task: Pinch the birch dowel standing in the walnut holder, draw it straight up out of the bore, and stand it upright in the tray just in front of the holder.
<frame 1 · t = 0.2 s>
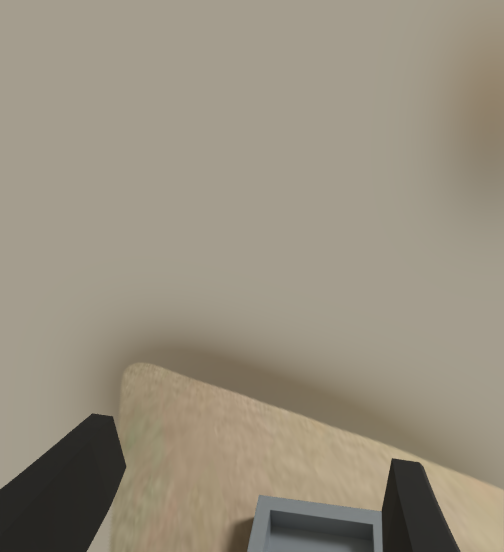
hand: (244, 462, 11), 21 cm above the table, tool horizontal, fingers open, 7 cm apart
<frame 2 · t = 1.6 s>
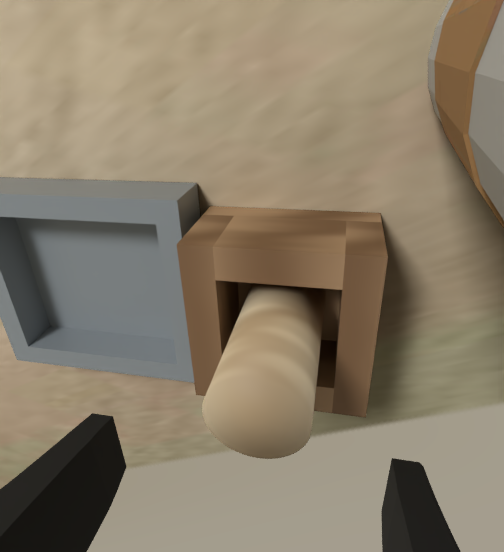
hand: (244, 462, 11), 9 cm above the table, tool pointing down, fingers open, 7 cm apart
holder: (290, 283, 19), on the table
dowel: (287, 294, 18), point 1 cm above the table, touching holder
tray: (109, 269, 20), on the table
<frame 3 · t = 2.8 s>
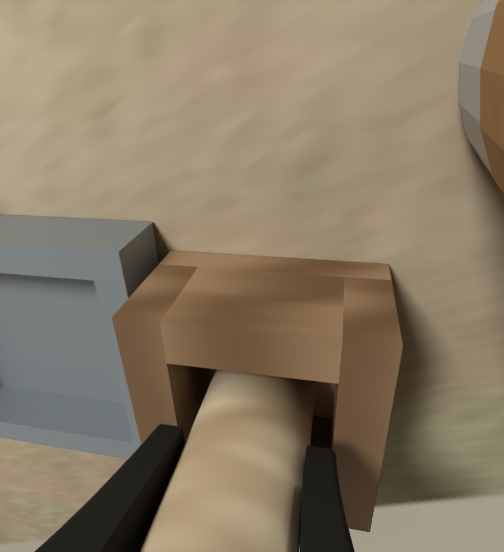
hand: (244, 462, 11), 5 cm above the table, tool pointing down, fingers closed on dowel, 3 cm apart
holder: (274, 344, 15), on the table
dowel: (270, 363, 14), point 1 cm above the table, touching gripper, holder
tray: (52, 321, 17), on the table
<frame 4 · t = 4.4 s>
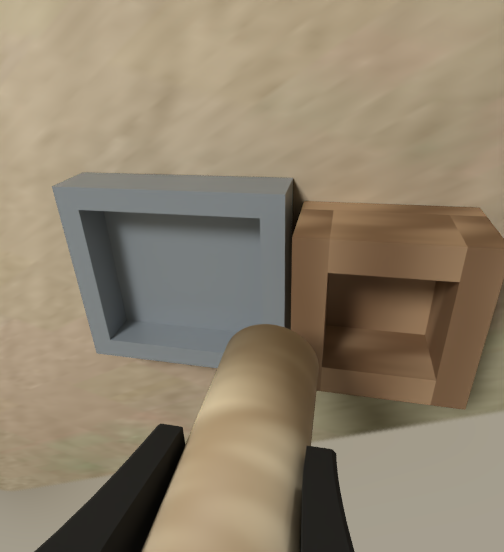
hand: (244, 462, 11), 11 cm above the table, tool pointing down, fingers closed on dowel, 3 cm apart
holder: (378, 277, 19), on the table
dowel: (270, 363, 14), point 7 cm above the table, touching gripper
tray: (192, 264, 21), on the table
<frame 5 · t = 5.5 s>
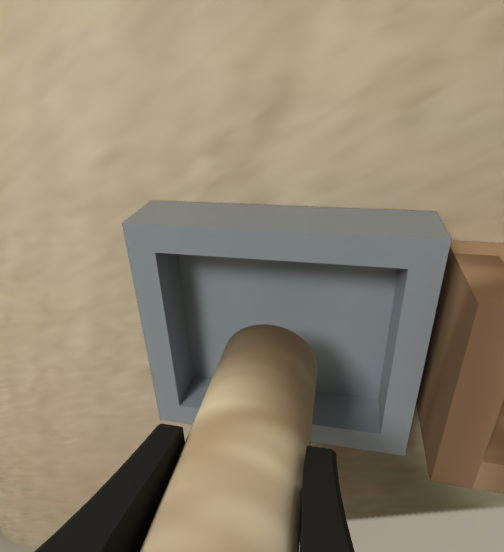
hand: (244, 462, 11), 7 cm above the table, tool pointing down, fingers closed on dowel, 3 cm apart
dowel: (269, 363, 14), point 3 cm above the table, touching gripper
tray: (283, 313, 17), on the table
when the fingers open (6 cm above the table, at t = 6.1 s): dowel drops 2 cm, resting on tray.
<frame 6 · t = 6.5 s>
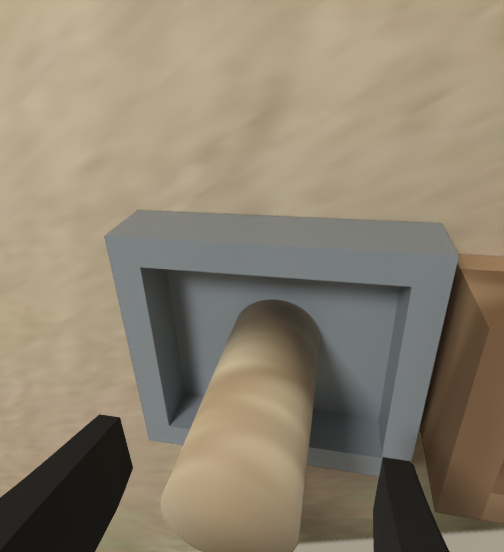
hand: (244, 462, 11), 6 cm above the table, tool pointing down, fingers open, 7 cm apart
dowel: (276, 336, 15), point 1 cm above the table, touching tray
tray: (279, 328, 16), on the table
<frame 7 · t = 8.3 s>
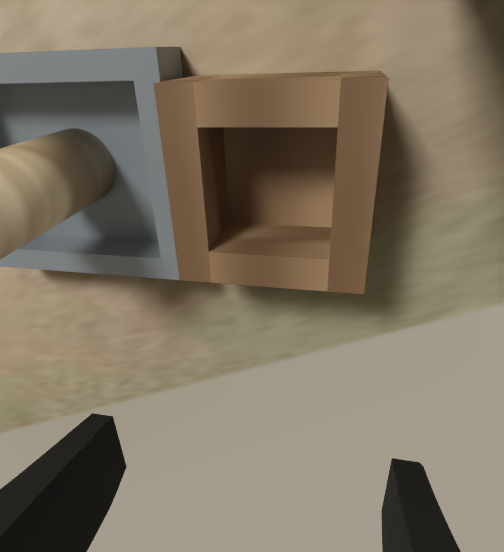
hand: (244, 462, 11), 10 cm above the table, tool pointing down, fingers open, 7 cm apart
holder: (283, 166, 17), on the table
dowel: (82, 165, 19), point 1 cm above the table, touching tray
tray: (88, 162, 19), on the table
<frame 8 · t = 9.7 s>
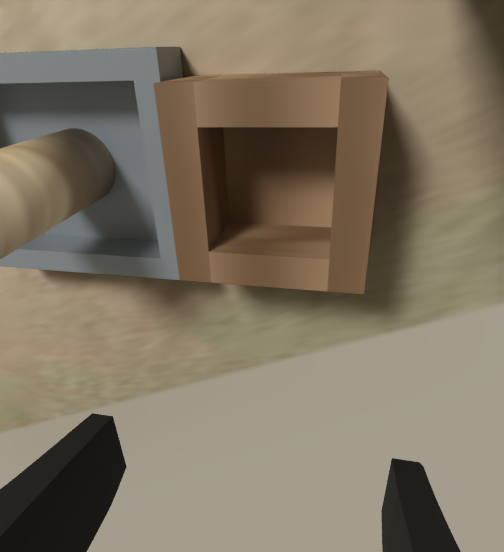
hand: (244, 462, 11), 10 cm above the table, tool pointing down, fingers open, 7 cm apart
holder: (283, 166, 17), on the table
dowel: (82, 165, 19), point 1 cm above the table, touching tray
tray: (88, 162, 19), on the table
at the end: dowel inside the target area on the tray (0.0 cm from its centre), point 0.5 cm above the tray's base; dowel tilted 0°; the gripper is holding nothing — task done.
